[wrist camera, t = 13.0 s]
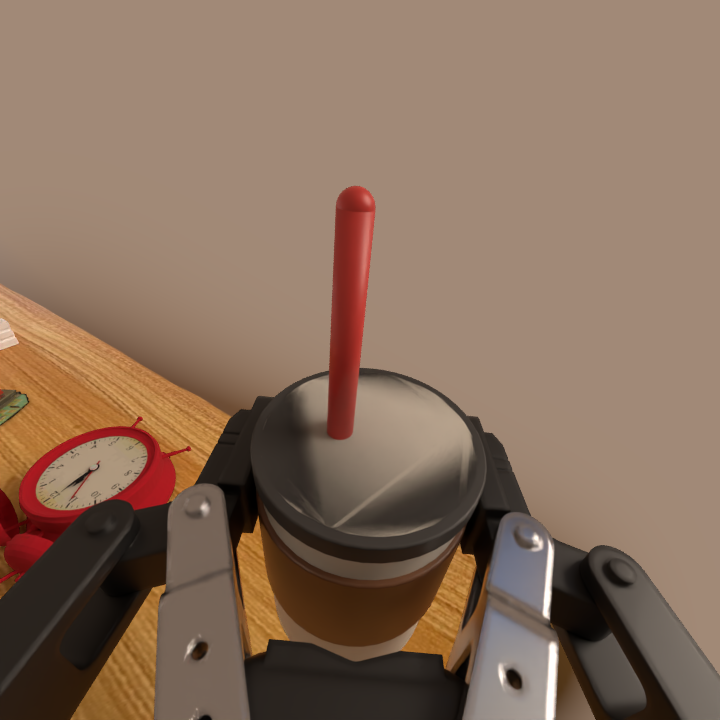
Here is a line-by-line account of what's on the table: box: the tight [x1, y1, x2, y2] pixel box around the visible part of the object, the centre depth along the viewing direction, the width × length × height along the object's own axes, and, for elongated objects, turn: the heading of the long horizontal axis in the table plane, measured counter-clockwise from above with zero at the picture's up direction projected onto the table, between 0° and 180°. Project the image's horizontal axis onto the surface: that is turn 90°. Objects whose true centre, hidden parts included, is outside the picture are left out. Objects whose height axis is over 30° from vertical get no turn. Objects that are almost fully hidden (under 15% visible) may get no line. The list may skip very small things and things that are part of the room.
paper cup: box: [250, 186, 487, 661], centre depth 10 cm, size 6×6×14 cm
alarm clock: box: [0, 417, 191, 583], centre depth 27 cm, size 10×6×15 cm
